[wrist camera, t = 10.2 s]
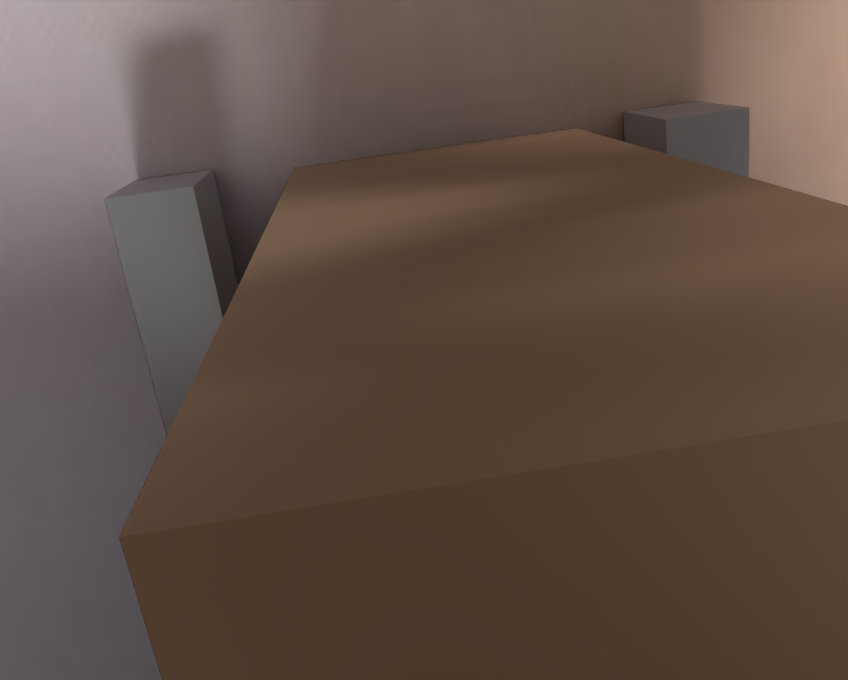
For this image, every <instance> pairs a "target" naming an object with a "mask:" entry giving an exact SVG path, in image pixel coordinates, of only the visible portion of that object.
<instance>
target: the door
mask: <svg viewBox="0 0 848 680" xmlns="http://www.w3.org/2000/svg"><path fill="white" fill-rule="evenodd" d="M119 539H120V542H121V545H122V549H123V552H124V555H125V559H126V562H127V565H128V569H129V572H130V575H131V579H132V582H133V585H134V589H135V592H136V595H137V599H138V602H139V605H140V609H141V612H142V615H143V619H144V622H145V625H146V629H147V632H148V635H149V638H150V642H151V645H152V648H153V652H154V655H155V658H156V662H157V665H158V668H159V672H160V675H161V678H162V680H848V206H845V205H842V204H838V203H835V202H831V201H828V200H824V199H821V198H818V197H814V196H811V195H807V194H804V193H800V192H797V191H793V190H790V189H786V188H783V187H779V186H776V185H772V184H769V183H765V182H762V181H758V180H755V179H751V178H748V177H745V176H741V175H738V174H734V173H731V172H727V171H724V170H720V169H717V168H713V167H710V166H706V165H703V164H699V163H696V162H692V161H689V160H685V159H682V158H679V157H675V156H672V155H668V154H665V153H661V152H658V151H654V150H651V149H647V148H644V147H640V146H637V145H633V144H630V143H626V142H623V141H619V140H616V139H613V138H609V137H606V136H602V135H599V134H595V133H592V132H588V131H585V130H581V129H578V128H573V129H566V130H559V131H552V132H545V133H538V134H531V135H524V136H516V137H509V138H502V139H495V140H488V141H481V142H474V143H467V144H460V145H453V146H446V147H438V148H431V149H424V150H417V151H410V152H403V153H396V154H389V155H382V156H375V157H367V158H360V159H353V160H346V161H339V162H332V163H325V164H318V165H311V166H304V167H296V168H294V170H293V172H292V174H291V176H290V178H289V180H288V182H287V184H286V186H285V188H284V191H283V193H282V195H281V197H280V199H279V201H278V203H277V205H276V207H275V210H274V212H273V214H272V216H271V218H270V220H269V222H268V224H267V226H266V229H265V231H264V233H263V235H262V237H261V239H260V241H259V243H258V245H257V248H256V250H255V252H254V254H253V256H252V258H251V260H250V262H249V264H248V267H247V269H246V271H245V273H244V275H243V277H242V279H241V281H240V283H239V285H238V288H237V290H236V292H235V294H234V296H233V298H232V300H231V302H230V304H229V307H228V309H227V311H226V313H225V315H224V317H223V319H222V321H221V323H220V326H219V328H218V330H217V332H216V334H215V336H214V338H213V340H212V342H211V345H210V347H209V349H208V351H207V353H206V355H205V357H204V359H203V361H202V364H201V366H200V368H199V370H198V372H197V374H196V376H195V378H194V380H193V382H192V385H191V387H190V389H189V391H188V393H187V395H186V397H185V399H184V401H183V404H182V406H181V408H180V410H179V412H178V414H177V416H176V418H175V420H174V423H173V425H172V427H171V429H170V431H169V433H168V435H167V437H166V439H165V442H164V444H163V446H162V448H161V450H160V452H159V454H158V456H157V458H156V461H155V463H154V465H153V467H152V469H151V471H150V473H149V475H148V477H147V479H146V482H145V484H144V486H143V488H142V490H141V492H140V494H139V496H138V498H137V501H136V503H135V505H134V507H133V509H132V511H131V513H130V515H129V517H128V520H127V522H126V524H125V526H124V528H123V530H122V532H121V534H120V536H119Z"/></svg>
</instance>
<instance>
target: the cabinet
mask: <svg viewBox="0 0 848 680" xmlns="http://www.w3.org/2000/svg"><path fill="white" fill-rule="evenodd" d="M623 115H624V141H625V142H626V143H630V144H633V145H637V146H640V147H644V148H647V149H651V150H654V151H658V152H661V153H665V154H668V155H672V156H675V157H679V158H682V159H685V160H689V161H692V162H696V163H699V164H703V165H706V166H710V167H713V168H717V169H720V170H724V171H727V172H731V173H734V174H738V175H741V176H745V177H748V161H749V108H748V107H739V106H730V105H722V104H713V103H705V102H696V101H695V102H688V103H681V104H674V105H667V106H660V107H653V108H646V109H638V110H631V111H624V112H623ZM104 201H105V204H106V208H107V212H108V216H109V220H110V223H111V227H112V231H113V235H114V238H115V242H116V246H117V250H118V254H119V257H120V261H121V265H122V269H123V273H124V276H125V280H126V284H127V288H128V291H129V295H130V299H131V303H132V307H133V310H134V314H135V318H136V322H137V325H138V329H139V333H140V337H141V341H142V344H143V348H144V352H145V356H146V359H147V363H148V367H149V371H150V375H151V378H152V382H153V386H154V390H155V393H156V397H157V401H158V405H159V409H160V412H161V416H162V420H163V424H164V427H165V431H166V435H168V433H169V431H170V429H171V427H172V425H173V423H174V420H175V418H176V416H177V414H178V412H179V410H180V408H181V406H182V404H183V401H184V399H185V397H186V395H187V393H188V391H189V389H190V387H191V385H192V382H193V380H194V378H195V376H196V374H197V372H198V370H199V368H200V366H201V364H202V361H203V359H204V357H205V355H206V353H207V351H208V349H209V347H210V345H211V342H212V340H213V338H214V336H215V334H216V332H217V330H218V328H219V326H220V323H221V321H222V319H223V317H224V315H225V313H226V311H227V309H228V307H229V304H230V302H231V300H232V298H233V296H234V294H235V292H236V290H237V288H238V282H237V278H236V273H235V268H234V264H233V259H232V255H231V250H230V245H229V241H228V236H227V231H226V227H225V222H224V217H223V213H222V208H221V203H220V199H219V194H218V189H217V185H216V180H215V175H214V171H213V169H212V170H205V171H198V172H191V173H183V174H176V175H169V176H162V177H155V178H148V179H141V180H136V181H134V182H132V183H131V184H129V185H127V186H125V187H124V188H122V189H120V190H119V191H117V192H115V193H113V194H112V195H110V196H108V197H107V198H105V199H104Z"/></svg>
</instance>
